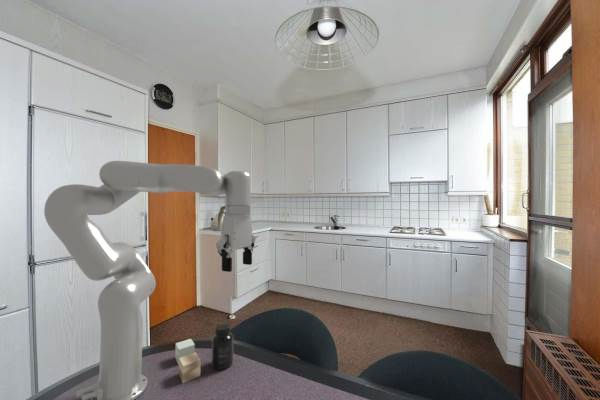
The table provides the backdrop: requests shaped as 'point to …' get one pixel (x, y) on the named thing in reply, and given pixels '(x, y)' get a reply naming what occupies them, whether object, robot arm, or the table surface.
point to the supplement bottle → (222, 347)
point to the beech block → (189, 367)
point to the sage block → (184, 349)
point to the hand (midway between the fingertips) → (237, 267)
